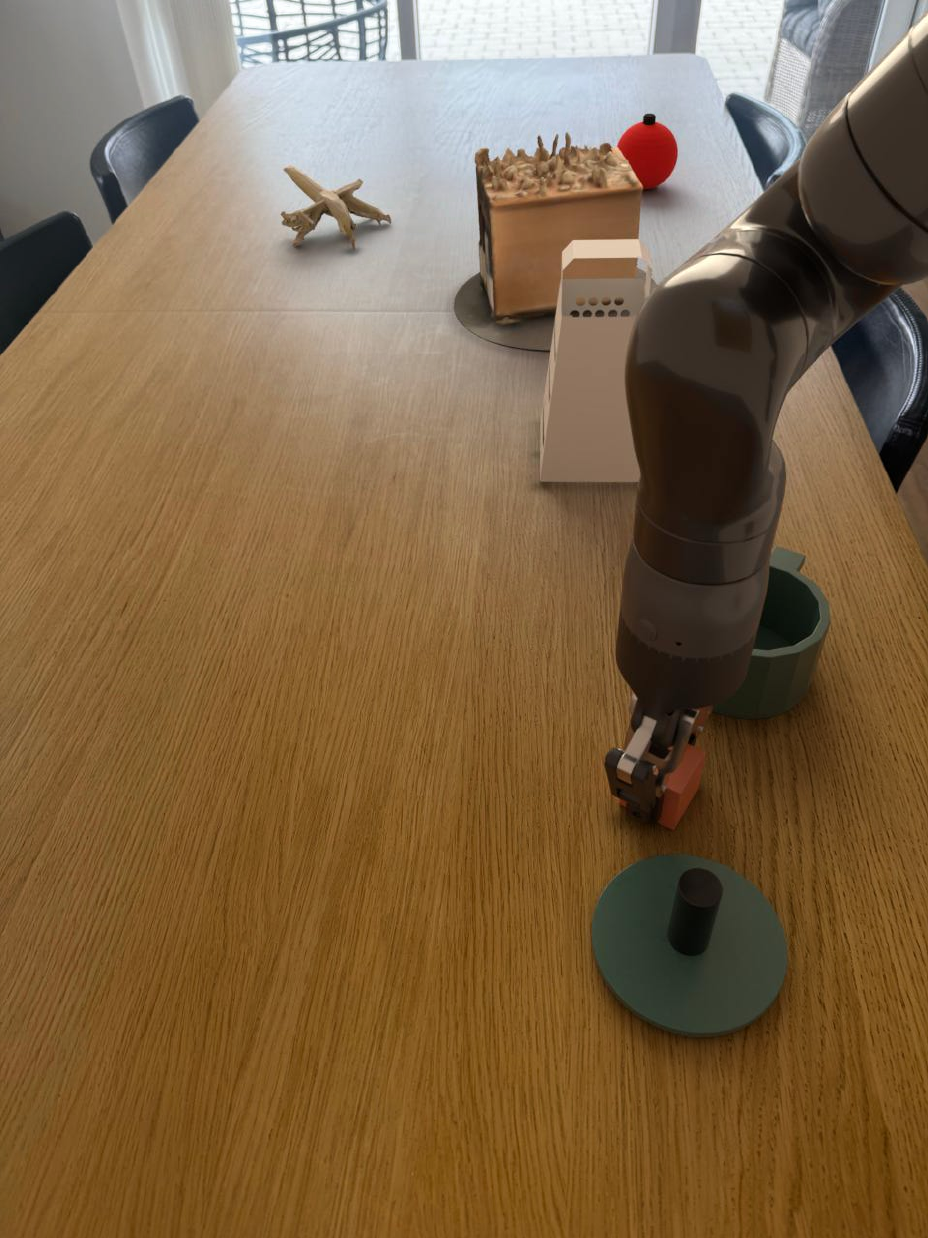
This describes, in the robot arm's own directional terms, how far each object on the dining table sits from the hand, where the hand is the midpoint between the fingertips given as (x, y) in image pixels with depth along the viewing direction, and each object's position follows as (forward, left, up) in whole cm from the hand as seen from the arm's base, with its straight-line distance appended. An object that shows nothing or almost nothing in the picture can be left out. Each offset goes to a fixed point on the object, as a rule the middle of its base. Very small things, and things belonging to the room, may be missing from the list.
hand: (658, 791), depth 65 cm
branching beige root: (+80, -63, -1) cm, 102 cm away
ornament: (+49, -98, -1) cm, 110 cm away
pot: (0, -14, 0) cm, 14 cm away
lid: (-6, +9, 0) cm, 11 cm away
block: (0, 0, 0) cm, 0 cm away
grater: (+23, -34, -1) cm, 41 cm away
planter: (+42, -60, -1) cm, 73 cm away
